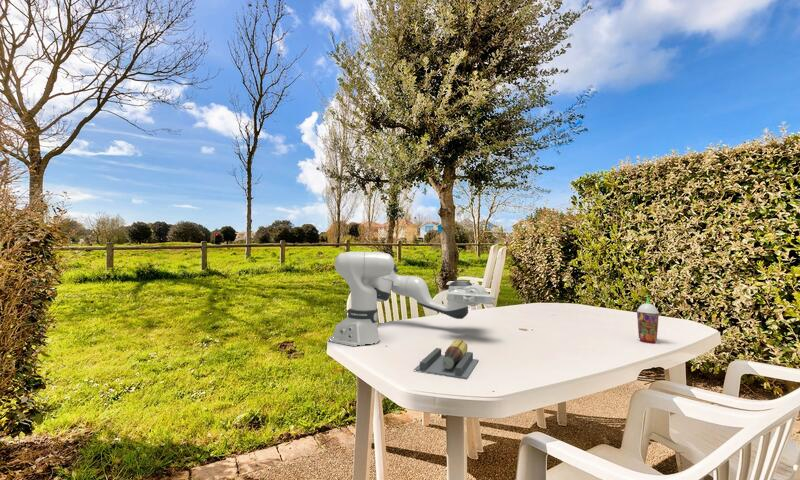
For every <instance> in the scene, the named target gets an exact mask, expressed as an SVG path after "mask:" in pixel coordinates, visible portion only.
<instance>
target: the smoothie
mask: <svg viewBox="0 0 800 480" xmlns="http://www.w3.org/2000/svg"><path fill="white" fill-rule="evenodd" d="M649 301H650V299H649V297H646V303H642V304H641V305H639V307H637V310H636V315H637V329H638V330H637V331H638V332H637V333H638V339H639V341H640V342H642V343H645V344H656V341H657V340H658V328H659V315H660V312H659V310H658V308H657V307H656V306H655V305H653V304H652V303H650V302H649Z"/></svg>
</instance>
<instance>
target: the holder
mask: <svg viewBox="0 0 800 480" xmlns="http://www.w3.org/2000/svg"><path fill="white" fill-rule="evenodd" d="M444 357H445V354H442V348H441V347H435V348H434V349H433V350H432V351H431V352H430V353H428V355H427V356H426V357H424V358H423V359H422V360H421V361H420V362H419V364H418V365H417V366H416V367H415V368H413V371H414V370H416V371H422V372H421V373H423V372H428V373H427V374H429V373H434V374H433V375H436V374H439V375H438V376H443V375H444V376H445V377H451V378H455V379H456V378H457V379H463V380H468V378H469V377H470V376H471V374H472V372H473V371H474V369H475V367H476V366H477V364H478V363H479V361H480V360H479V359H477V358H474V352H470V351H467V353H466V354H465V356H464V357H463V358H462V359H461V361H460V362H459V363H458V364H457V365H454V366H453V367H452V368H451V369H446V368H445V367H444V366H443V364H442V360H443V358H444ZM416 371H415V372H416ZM444 376H443V377H444Z"/></svg>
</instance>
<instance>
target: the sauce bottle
mask: <svg viewBox="0 0 800 480" xmlns="http://www.w3.org/2000/svg"><path fill="white" fill-rule="evenodd" d="M467 352H468V344H467V343H466V342H465V340H463V339H455V340H454V341H453V342H452V343H451V344H450V345H449V346H448V347H447V348H446V350H445V351H444V355H445V357H444V358H443V360H442V364H443V366H444V367H445V368H446V369H451V368H452V367H453V366H454V365H457V364H458V363H459V362H460V361H461V359H462V358H463V357H464V356H465V354H466V353H467Z"/></svg>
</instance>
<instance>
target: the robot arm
mask: <svg viewBox="0 0 800 480" xmlns="http://www.w3.org/2000/svg"><path fill="white" fill-rule="evenodd" d="M334 268H335V271H336V272H337V274H338V275H340V276H341V278H343V279H344V280H345V282H346V283H347V285H348V287H349V292H350V303H351V304H350V305H351V306H350V308H349V309H348V310H347V309H346V311H345V314H347V316H346V317H345V318H344V319H342V320H341V321H340V322H338V324H336V325H335V327H334V331H333V335H331V336H329V337H328V340H327V341H328V342H331V343H336V344H341V345H346V346H349V345H350V346H349V347H358V346H357V345H360V346H366V345H365V344H371V345H374V344H373V343H375V344H377V343H376V342H378V341H379V340H380V341H381V339H380V336H379V331H378V318H379V317H378V316H379V315H378V314H379V313H378V312H379V311H378V310H379V309H378V304H377V302H381V303H383V302H387V301H389V299H390V296H391V292H392V293H393V294H396V295H399V296H403V297H407V298H411V299H414V300H415V301H416V302H417V304H418V305H419V306H421V307H424V308H425V309H429V310H431V311H434V312H437V313H441V314H444V315H446V316H448V317H450V318H453V319H457V320H463V319H465V318H466V317H467V315H468V314H469V306H471V307H476V306H478V305H480V304H483V305H484V304H485V305H493V303H494V300H495V299H496V296H494V295H493V294H492V293H487V290H486V288H485V286H483V285H481V284H473V283H471V282H470V281H468V280H464V279H462V280H461V279H460V280H453V281H452V282H450V283H449V284H448V292H447V294H446V300H447V304H443V303H441V302H437V301H435V300H434V299H433V298H432V296H431V294H430V291H429V288H428V284H427V282H426V281H425V280H424V279H423V278H422V277H420V276H416V275H402V274H401V275H399V274H398V273H399V271H400V270H399V269H398V268H397V265H396V264H395V261H394V258H393V256H392V255H391V254H390V253H386V252H382V251H345V252H340V253H338V254H337V256H336V257H335V260H334ZM333 337H334V338H333ZM330 339H331V340H332V341H331V340H330ZM329 340H330V341H329ZM380 341H379V342H380ZM379 342H378V343H379Z"/></svg>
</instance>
